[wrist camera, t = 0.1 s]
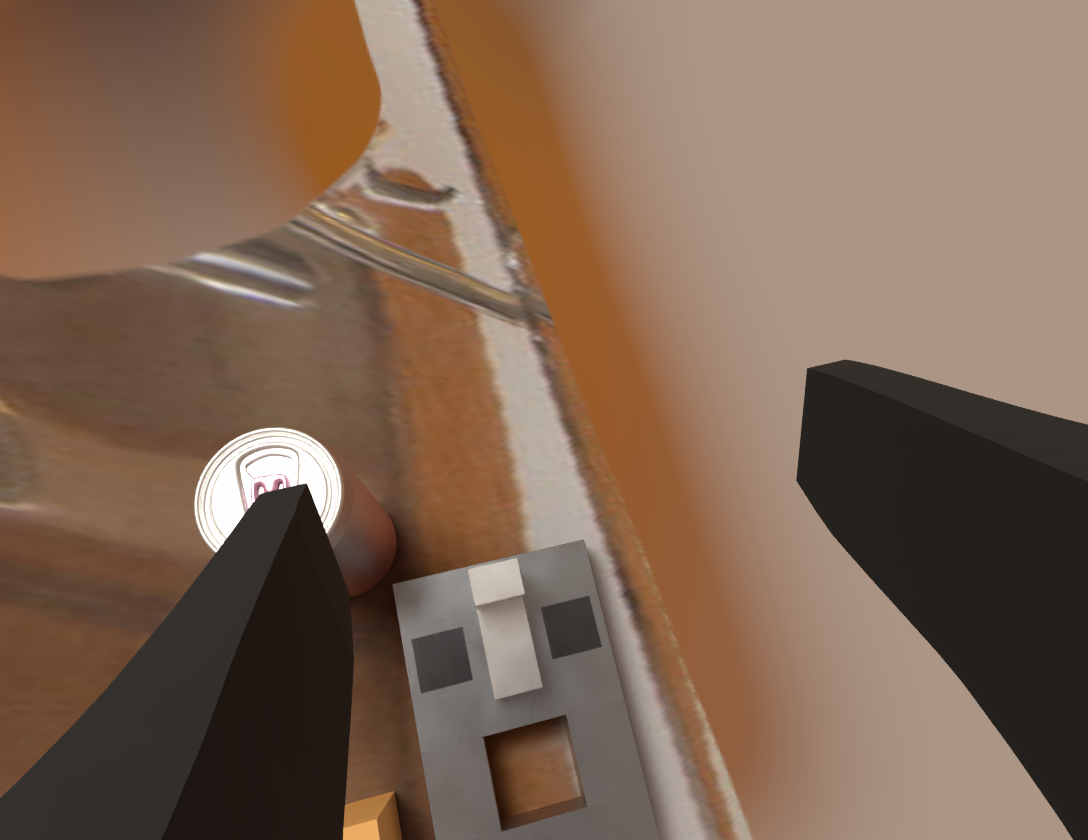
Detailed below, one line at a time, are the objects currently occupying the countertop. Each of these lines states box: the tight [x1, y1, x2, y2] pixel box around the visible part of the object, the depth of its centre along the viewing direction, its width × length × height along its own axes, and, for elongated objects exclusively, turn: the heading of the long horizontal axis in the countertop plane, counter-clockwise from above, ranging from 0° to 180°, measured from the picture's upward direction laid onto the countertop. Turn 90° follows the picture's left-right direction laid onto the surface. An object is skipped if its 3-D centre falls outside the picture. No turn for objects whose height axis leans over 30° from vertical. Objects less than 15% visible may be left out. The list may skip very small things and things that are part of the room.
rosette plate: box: [393, 540, 660, 840], centre depth 37 cm, size 16×11×2 cm
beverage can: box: [194, 427, 397, 597], centre depth 33 cm, size 6×6×15 cm
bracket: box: [468, 558, 543, 700], centre depth 35 cm, size 6×2×4 cm, turn 14°
